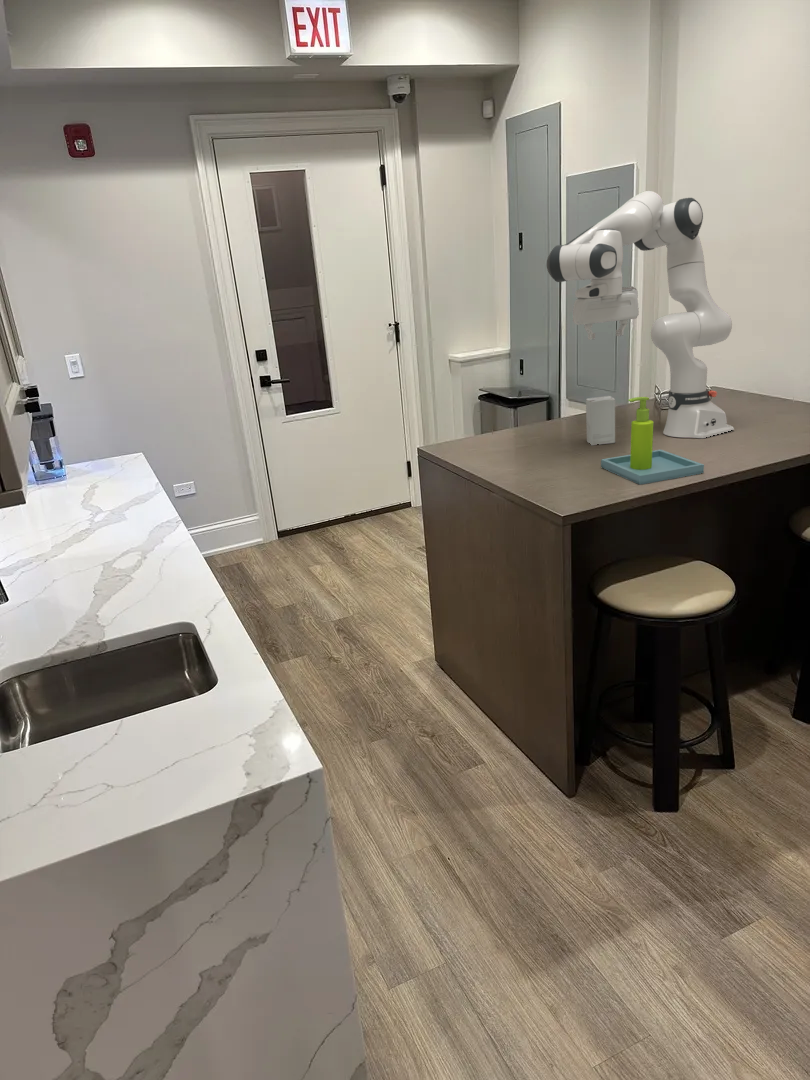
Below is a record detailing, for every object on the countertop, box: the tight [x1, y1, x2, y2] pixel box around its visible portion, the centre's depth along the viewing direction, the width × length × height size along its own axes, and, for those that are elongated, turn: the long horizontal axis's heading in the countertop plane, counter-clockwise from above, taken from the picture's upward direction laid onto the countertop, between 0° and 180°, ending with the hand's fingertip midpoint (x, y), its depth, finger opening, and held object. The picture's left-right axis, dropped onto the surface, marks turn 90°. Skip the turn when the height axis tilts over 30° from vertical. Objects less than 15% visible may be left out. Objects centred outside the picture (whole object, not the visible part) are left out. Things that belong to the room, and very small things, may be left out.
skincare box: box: [585, 395, 616, 446], centre depth 241 cm, size 8×6×15 cm
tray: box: [600, 449, 705, 485], centre depth 209 cm, size 20×20×2 cm
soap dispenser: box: [627, 396, 654, 470], centre depth 207 cm, size 6×7×20 cm
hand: (605, 337), depth 220 cm, fingers open, 8 cm apart
